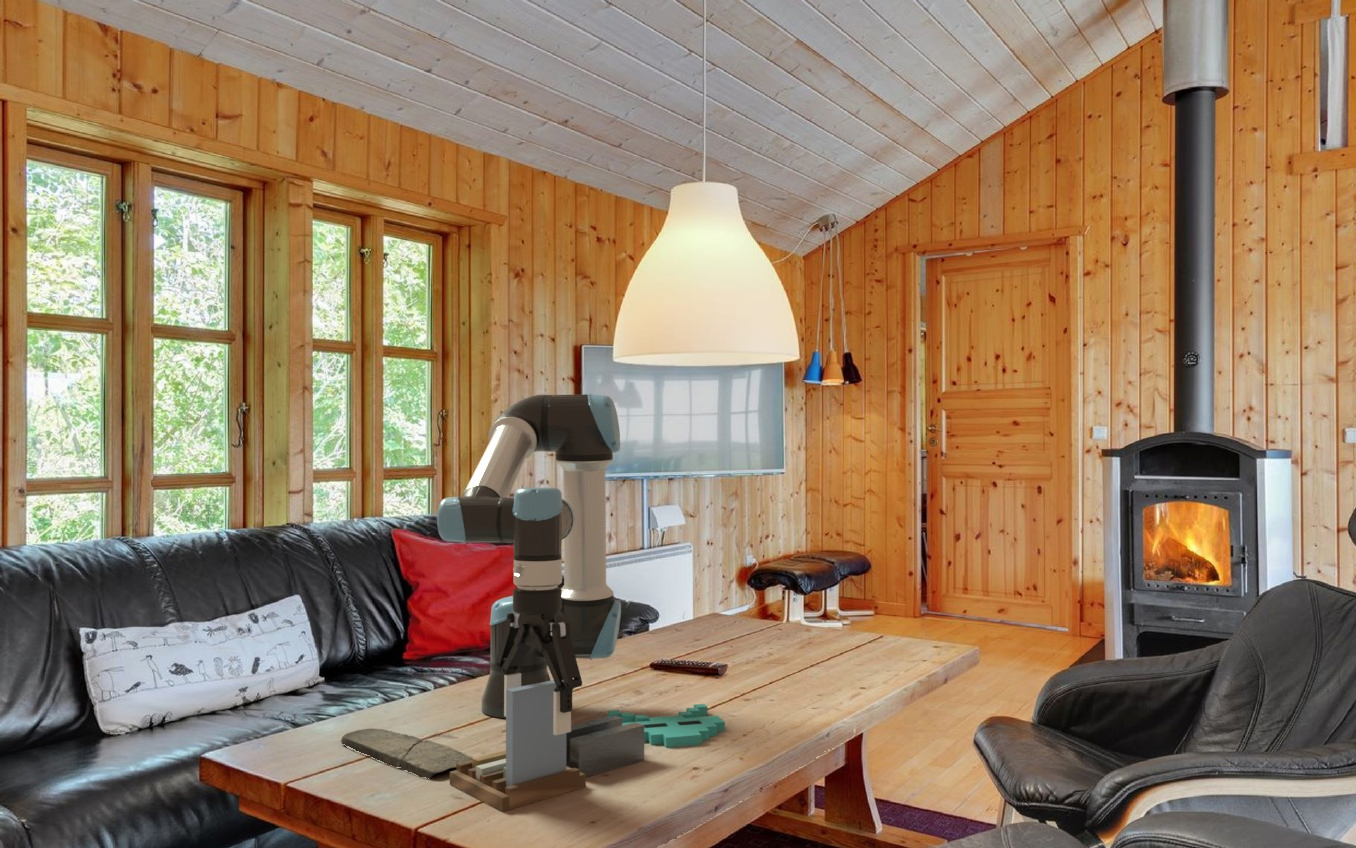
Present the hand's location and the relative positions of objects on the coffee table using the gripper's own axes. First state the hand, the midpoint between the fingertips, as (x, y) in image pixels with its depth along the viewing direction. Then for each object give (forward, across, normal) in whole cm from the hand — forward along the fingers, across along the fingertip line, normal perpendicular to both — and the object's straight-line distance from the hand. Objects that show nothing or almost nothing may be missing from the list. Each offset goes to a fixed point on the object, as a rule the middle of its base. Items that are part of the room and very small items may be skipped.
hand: (536, 724), depth 150 cm
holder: (+11, -6, +16) cm, 20 cm away
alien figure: (+11, -12, +38) cm, 42 cm away
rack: (+11, -6, 0) cm, 12 cm away
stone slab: (+12, -32, -6) cm, 34 cm away
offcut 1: (+11, -11, 0) cm, 16 cm away
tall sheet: (+11, 0, 0) cm, 11 cm away
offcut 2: (+11, -8, 0) cm, 13 cm away
